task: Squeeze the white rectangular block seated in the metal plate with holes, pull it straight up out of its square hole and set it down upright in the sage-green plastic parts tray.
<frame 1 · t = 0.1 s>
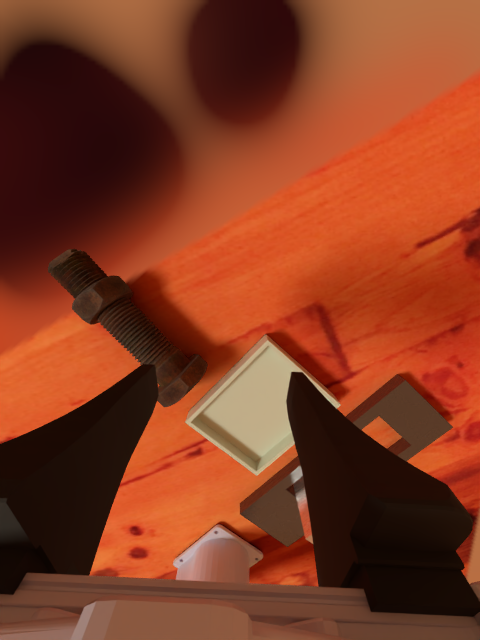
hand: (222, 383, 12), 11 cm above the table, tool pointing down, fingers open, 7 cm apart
bolt: (142, 318, 23), on the table
metal plate with holes: (335, 464, 26), on the table
tray: (260, 402, 24), on the table
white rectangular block: (315, 478, 27), resting in metal plate with holes
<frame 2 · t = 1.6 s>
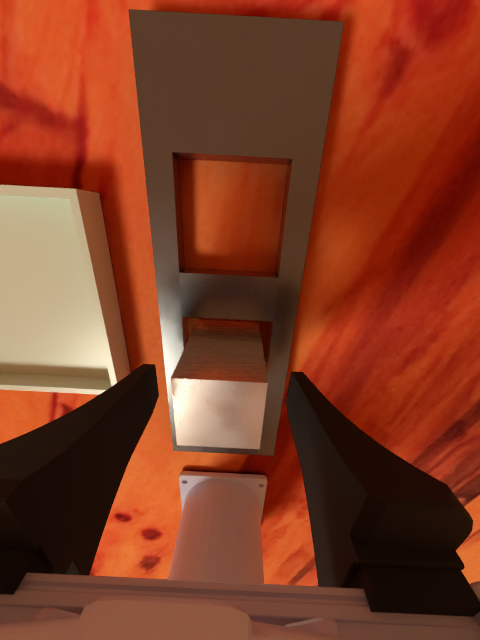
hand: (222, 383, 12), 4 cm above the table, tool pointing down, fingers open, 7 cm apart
metal plate with holes: (228, 307, 14), on the table
tray: (38, 297, 14), on the table
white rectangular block: (227, 347, 16), resting in metal plate with holes
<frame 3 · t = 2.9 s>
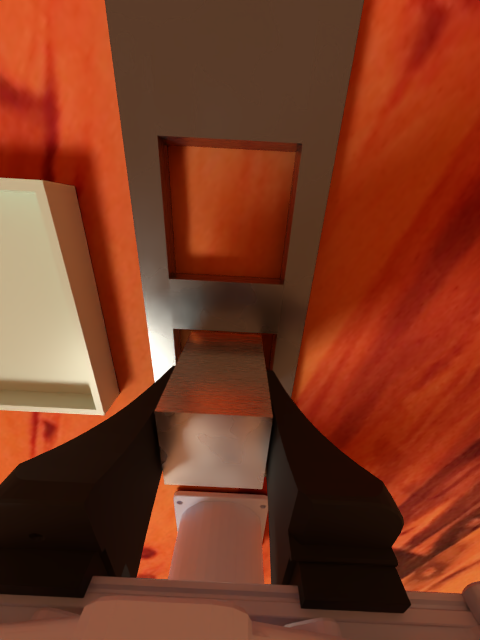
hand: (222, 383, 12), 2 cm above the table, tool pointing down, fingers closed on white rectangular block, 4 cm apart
metal plate with holes: (226, 316, 13), on the table
tray: (11, 305, 13), on the table
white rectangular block: (225, 361, 14), resting in metal plate with holes, touching gripper
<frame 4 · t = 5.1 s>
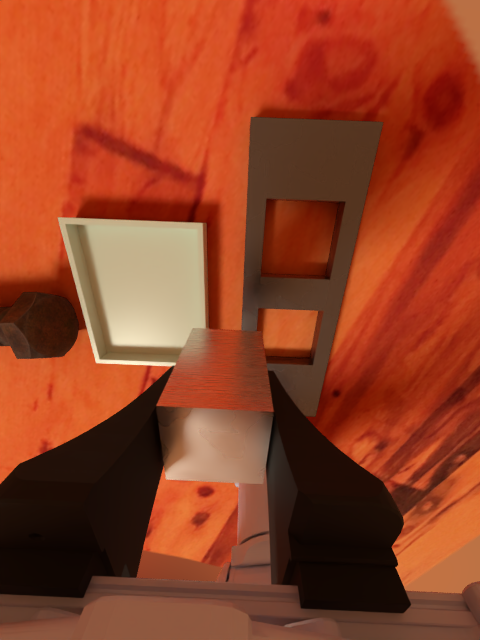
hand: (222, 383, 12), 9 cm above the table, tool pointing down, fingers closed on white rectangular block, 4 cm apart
metal plate with holes: (288, 301, 20), on the table
tray: (150, 295, 20), on the table
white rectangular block: (226, 358, 14), point 7 cm above the table, touching gripper
when the fingers open (4 cm above the table, at t = 7.3 s): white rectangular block drops 1 cm, resting on tray.
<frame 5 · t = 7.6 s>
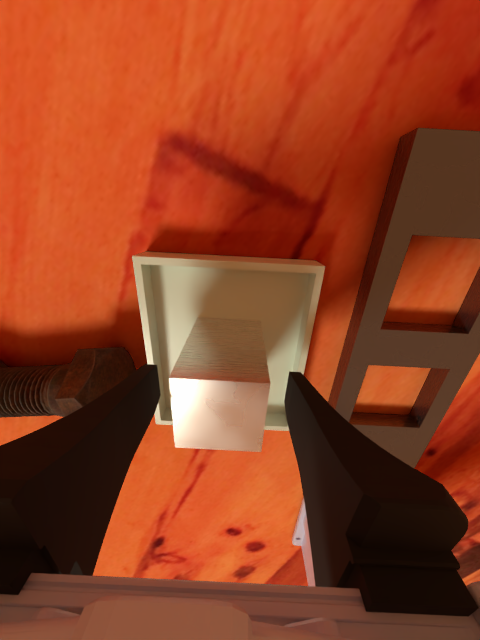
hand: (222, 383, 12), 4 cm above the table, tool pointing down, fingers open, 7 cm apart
bolt: (41, 367, 18), on the table
metal plate with holes: (399, 353, 16), on the table
tray: (228, 344, 16), on the table
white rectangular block: (228, 346, 15), point 1 cm above the table, touching tray
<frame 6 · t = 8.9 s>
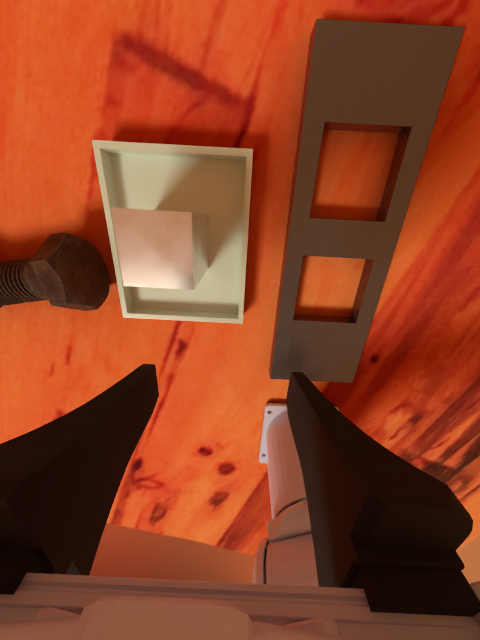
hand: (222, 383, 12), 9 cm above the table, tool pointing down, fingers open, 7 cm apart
bolt: (26, 275, 20), on the table
metal plate with holes: (334, 251, 18), on the table
tray: (184, 243, 18), on the table
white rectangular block: (183, 241, 18), point 1 cm above the table, touching tray
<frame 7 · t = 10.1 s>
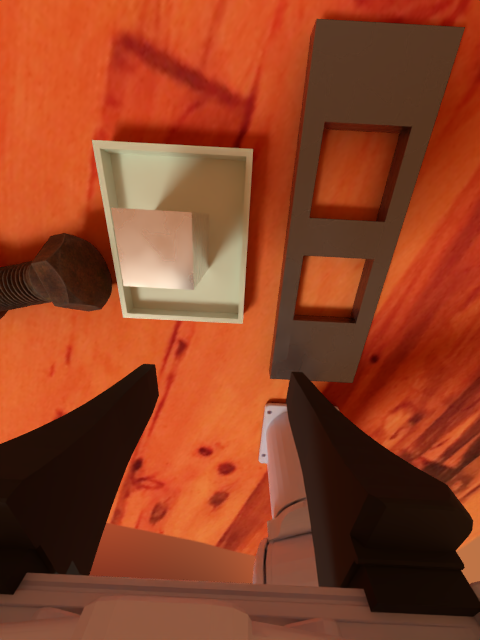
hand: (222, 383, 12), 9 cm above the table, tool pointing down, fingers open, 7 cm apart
bolt: (30, 280, 20), on the table
metal plate with holes: (334, 251, 18), on the table
tray: (184, 243, 18), on the table
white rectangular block: (183, 241, 18), point 1 cm above the table, touching tray
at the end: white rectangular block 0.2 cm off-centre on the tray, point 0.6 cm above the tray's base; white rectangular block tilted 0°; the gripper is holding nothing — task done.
